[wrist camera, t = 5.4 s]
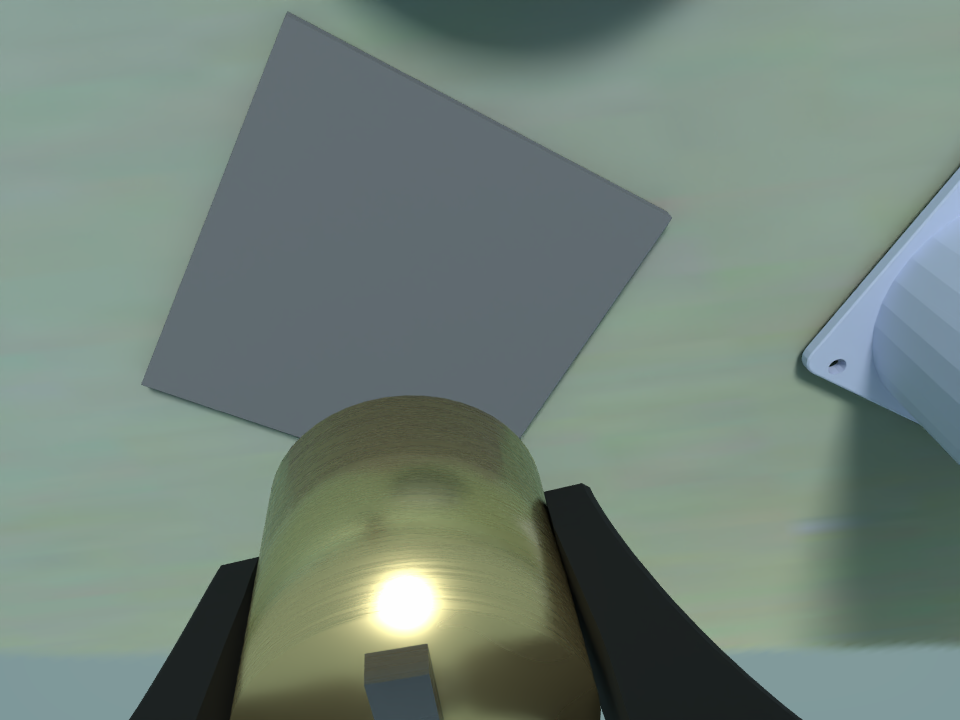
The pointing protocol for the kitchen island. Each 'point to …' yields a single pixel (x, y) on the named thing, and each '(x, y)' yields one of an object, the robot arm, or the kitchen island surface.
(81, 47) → the kitchen island surface
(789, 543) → the kitchen island surface
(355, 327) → the mat
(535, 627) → the knob
